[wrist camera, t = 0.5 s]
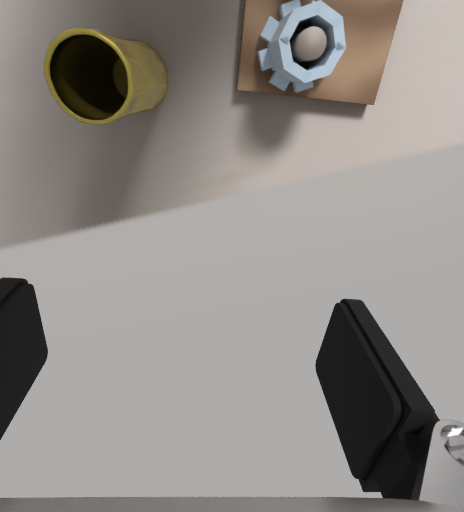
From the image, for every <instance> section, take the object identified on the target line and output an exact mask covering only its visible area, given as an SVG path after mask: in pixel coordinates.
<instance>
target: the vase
mask: <svg viewBox="0 0 464 512" xmlns="http://www.w3.org/2000/svg"><path fill="white" fill-rule="evenodd" d="M44 74H45V78H46V82H47V85H48V87H49V90H50V92H51V94H52V96H53V97H54V99H55V100H56V101H57V103H58V104H59V105H60V106H61V108H62V109H63V110H64V111H65V112H66V113H68V114H69V115H70V116H72V117H73V118H75V119H77V120H79V121H81V122H84V123H89V124H95V125H103V124H107V123H110V122H112V121H115V120H117V119H118V118H121V117H123V116H126V115H129V114H132V113H135V112H143V111H148V110H151V109H153V108H154V107H156V106H157V105H158V104H159V103H160V102H161V100H162V99H163V97H164V95H165V93H166V89H167V73H166V69H165V66H164V64H163V62H162V60H161V59H160V57H159V56H158V54H157V53H156V52H155V51H154V50H153V49H152V48H150V47H149V46H147V45H146V44H144V43H142V42H138V41H129V40H124V39H118V38H115V37H113V36H110V35H108V34H105V33H103V32H101V31H99V30H95V29H85V28H75V27H74V28H70V29H67V30H65V31H63V32H61V33H60V34H59V35H58V36H57V37H56V38H55V39H54V40H53V41H52V42H51V43H50V45H49V47H48V49H47V52H46V56H45V61H44Z"/></svg>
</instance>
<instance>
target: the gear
mask: <svg viewBox="0 0 464 512" xmlns="http://www.w3.org/2000/svg"><path fill="white" fill-rule="evenodd" d="M279 11H280V17H281V20H280V21H279V22H278V21H277V20H275V19H274V18H273V17H271V16H269V17H268V19H267V21H266V23H265V25H264V27H263V29H262V31H261V33H260V35H259V37H260V38H262V39H263V40H265V41H266V42H268V44H267V48H266V49H264V50H261V51H258V52H257V54H258V59H259V63H260V68H261V71H264V70H267V69H270V68H272V71H274V72H273V74H272V76H271V78H270V80H269V83H271V84H273V85H274V86H276V87H277V88H279V89H281V90H282V91H285V90H286V88H287V86H288V84H289V82H292V83H293V88H294V92H300V91H303V90H306V89H309V88H312V87H313V82H312V81H313V80H316V79H319V78H324V77H325V76H328V75H330V74H331V73H332V71H333V69H334V67H335V66H336V64H337V62H338V61H339V59H340V57H341V56H342V54H343V52H344V51H345V49H346V43H345V33H344V24H343V16H341V15H340V14H339V13H337V12H336V11H335V10H333V9H332V8H331V7H329V6H328V5H327V4H325V3H324V2H323V1H321V0H319V1H316V2H315V1H314V0H313V1H311V2H310V3H309V4H308V5H305V6H302V7H301V4H300V0H293V1H291V2H288V3H285V4H282V5H281V6H280V7H279ZM297 26H301V27H302V28H304V29H307V28H309V27H313V26H316V27H319V28H321V29H322V30H323V31H324V33H325V35H326V39H327V44H326V48H325V50H324V52H323V54H322V55H321V56H320V57H319V58H317V59H315V60H310V61H309V62H308V64H307V66H306V67H304V68H302V67H301V66H299V65H298V64H296V63H295V62H293V59H292V53H291V47H290V42H289V40H290V38H291V37H292V35H293V33H294V31H295V29H296V27H297Z"/></svg>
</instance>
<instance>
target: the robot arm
mask: <svg viewBox="0 0 464 512" xmlns="http://www.w3.org/2000/svg"><path fill="white" fill-rule="evenodd" d="M47 354H48V349H47V345H46V340H45V335H44V331H43V327H42V322H41V317H40V313H39V309H38V303H37V299H36V294H35V290H34V287H33V285H32V284H28V282H27V280H26V279H21V278H1V279H0V440H1V438H2V436H3V434H4V433H5V431H6V429H7V427H8V426H9V424H10V422H11V421H12V419H13V417H14V415H15V413H16V412H17V410H18V408H19V407H20V405H21V403H22V401H23V400H24V398H25V396H26V395H27V393H28V391H29V389H30V388H31V386H32V384H33V383H34V381H35V379H36V377H37V376H38V374H39V372H40V370H41V369H42V366H43V365H44V363H45V361H46V359H47ZM316 373H317V376H318V378H319V381H320V384H321V387H322V390H323V393H324V396H325V399H326V401H327V404H328V407H329V410H330V413H331V416H332V419H333V421H334V424H335V427H336V430H337V433H338V436H339V439H340V442H341V444H342V447H343V450H344V453H345V456H346V458H347V462H348V465H349V467H350V470H351V473H352V475H353V476H354V477H355V478H356V479H359V482H360V484H361V487H362V490H363V492H381V494H382V497H383V498H346V497H69V498H68V497H66V498H0V512H464V423H462V422H460V421H456V420H451V419H445V420H441V421H440V420H439V418H438V417H437V415H436V414H435V410H434V409H433V407H432V406H431V404H430V403H429V401H428V400H427V398H426V396H425V395H424V394H423V392H422V390H421V389H420V388H419V386H418V384H417V383H416V381H415V380H414V378H413V377H412V375H411V374H410V372H409V371H408V369H407V368H406V366H405V365H404V363H403V362H402V360H401V359H400V357H399V356H398V354H397V353H396V351H395V350H394V348H393V347H392V345H391V344H390V342H389V340H388V339H387V337H386V336H385V334H384V333H383V332H382V330H381V328H380V327H379V325H378V324H377V322H376V321H375V319H374V318H373V316H372V315H371V313H370V312H369V310H368V309H367V307H366V306H365V304H364V303H363V302H362V301H361V300H355V299H343V300H341V301H340V303H336V304H335V306H334V309H333V312H332V315H331V318H330V321H329V324H328V327H327V330H326V333H325V336H324V339H323V342H322V345H321V348H320V351H319V354H318V357H317V360H316Z"/></svg>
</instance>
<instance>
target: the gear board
mask: <svg viewBox="0 0 464 512" xmlns="http://www.w3.org/2000/svg"><path fill="white" fill-rule="evenodd" d="M291 1H293V0H245V8H244V18H243V29H242V39H241V50H240V60H239V70H238V81H237V90H244V91H253V92H262V93H271V94H280V95H289V96H298V97H307V98H316V99H325V100H333V101H342V102H351V103H360V104H369V105H374V102H375V99H376V95H377V92H378V88H379V85H380V81H381V78H382V74H383V71H384V67H385V63H386V60H387V56H388V53H389V49H390V46H391V42H392V39H393V35H394V32H395V28H396V25H397V21H398V18H399V14H400V11H401V7H402V3H403V0H321V1H323V2H324V3H325V4H327V5H328V6H329V7H331V8H332V9H333V10H335V11H336V12H337V13H339V14H340V15H341V16H343V24H344V33H345V43H346V49H345V51H344V52H343V54H342V56H341V57H340V59H339V61H338V62H337V64H336V66H335V67H334V69H333V71H332V73H331V74H330V75H328V76H325V77H324V78H319V79H316V80H313V81H312V82H313V87H312V88H309V89H306V90H303V91H300V92H294V88H293V83H292V82H289V84H288V86H287V88H286V90H285V91H282V90H281V89H279V88H277V87H276V86H274V85H273V84H271V83H269V80H270V78H271V76H272V74H273V72H274V71H272V68H270V69H267V70H264V71H261V68H260V63H259V59H258V54H257V52H258V51H261V50H264V49H266V48H267V44H268V42H266V41H265V40H263V39H262V38H260V37H259V35H260V33H261V31H262V29H263V27H264V25H265V23H266V21H267V19H268V17H269V16H271V17H273V18H274V19H275V20H277V21H278V22H279V21H280V20H281V17H280V11H279V7H280V6H281V5H282V4H285V3H288V2H291ZM311 1H313V0H300V4H301V7H302V6H305V5H308V4H309V3H310V2H311ZM314 1H315V2H316V1H319V0H314ZM289 42H290V47H291V53H292V59H293V62H295V63H296V64H298V65H299V66H301V67H302V68H304V67H306V66H307V64H308V62H309V61H310V60H315V59H317V58H319V57H320V56H321V55H322V54H323V52H324V50H325V48H326V44H327V39H326V35H325V33H324V31H323V30H322V29H321V28H319V27H316V26H313V27H309V28H307V29H304V28H302V27H301V26H297V27H296V29H295V31H294V33H293V35H292V37H291V38H290V40H289Z"/></svg>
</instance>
